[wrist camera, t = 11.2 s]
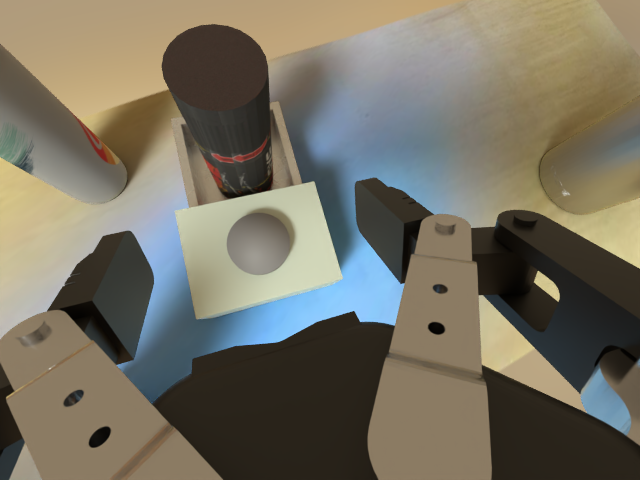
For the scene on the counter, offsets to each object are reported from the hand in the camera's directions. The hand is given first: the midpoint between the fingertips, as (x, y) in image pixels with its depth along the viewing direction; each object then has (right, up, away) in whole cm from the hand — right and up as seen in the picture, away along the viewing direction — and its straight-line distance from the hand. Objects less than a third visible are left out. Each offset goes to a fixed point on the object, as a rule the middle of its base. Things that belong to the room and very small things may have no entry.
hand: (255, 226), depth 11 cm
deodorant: (-6, +6, +21) cm, 23 cm away
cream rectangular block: (-3, -2, +20) cm, 21 cm away
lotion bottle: (-20, +6, +20) cm, 29 cm away
